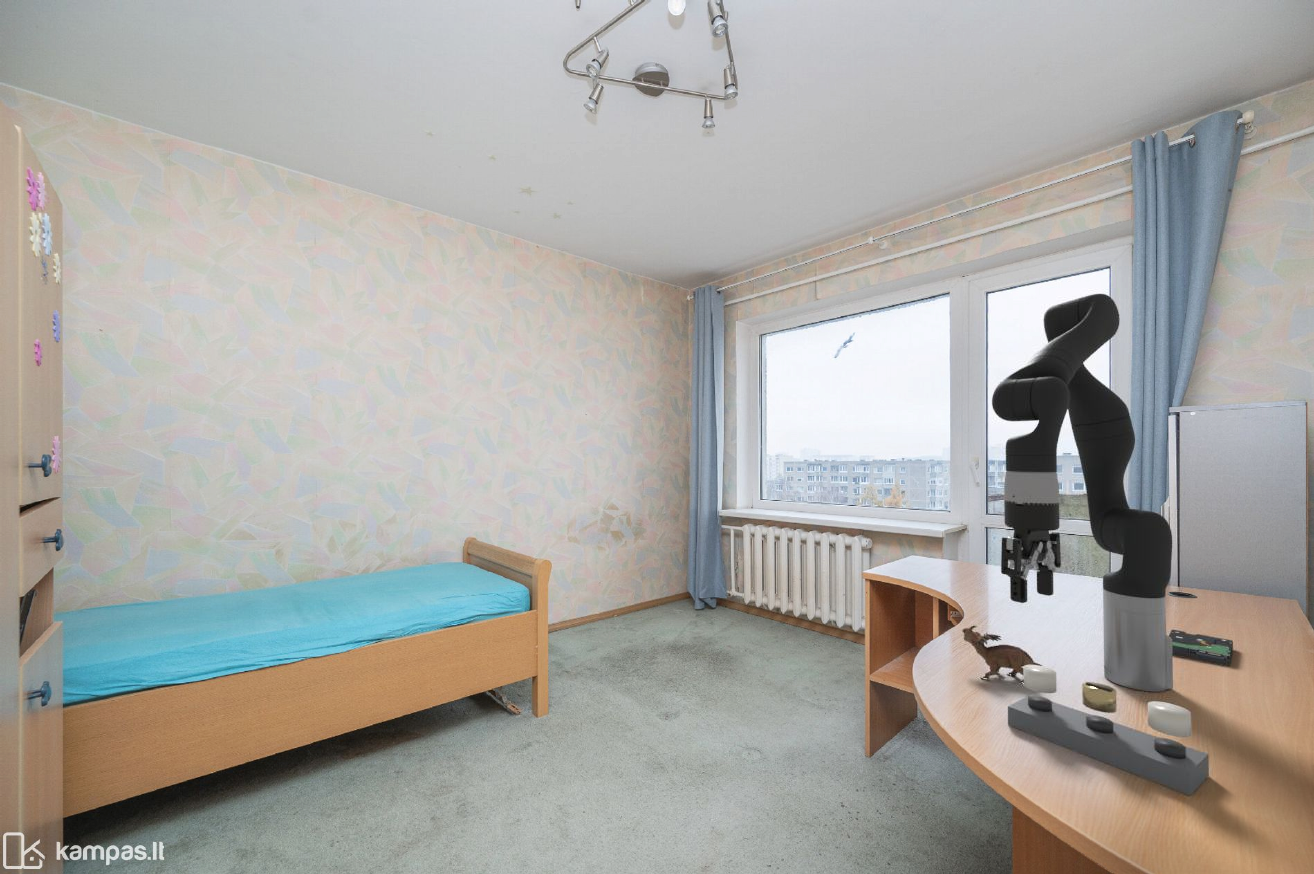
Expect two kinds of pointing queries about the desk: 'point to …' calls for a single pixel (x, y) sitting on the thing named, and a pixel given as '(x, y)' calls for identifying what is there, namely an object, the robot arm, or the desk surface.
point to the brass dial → (1099, 697)
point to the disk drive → (1202, 647)
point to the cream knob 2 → (1169, 719)
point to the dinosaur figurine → (998, 653)
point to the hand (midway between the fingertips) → (1032, 598)
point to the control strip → (1112, 743)
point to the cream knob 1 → (1039, 678)
